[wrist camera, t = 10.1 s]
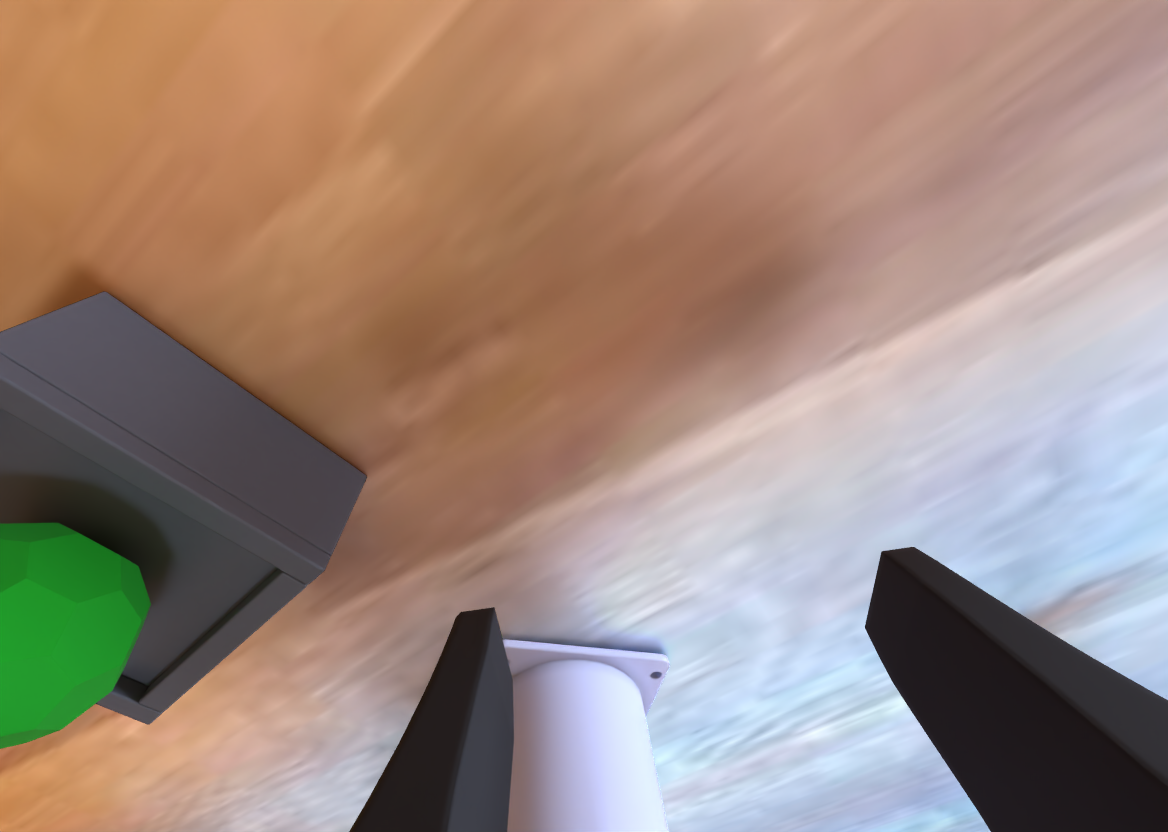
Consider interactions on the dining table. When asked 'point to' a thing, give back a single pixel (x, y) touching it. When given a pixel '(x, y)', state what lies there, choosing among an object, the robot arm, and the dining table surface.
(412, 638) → the dining table surface
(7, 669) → the polyhedron
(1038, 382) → the dining table surface
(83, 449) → the grey box
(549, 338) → the dining table surface
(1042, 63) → the dining table surface
